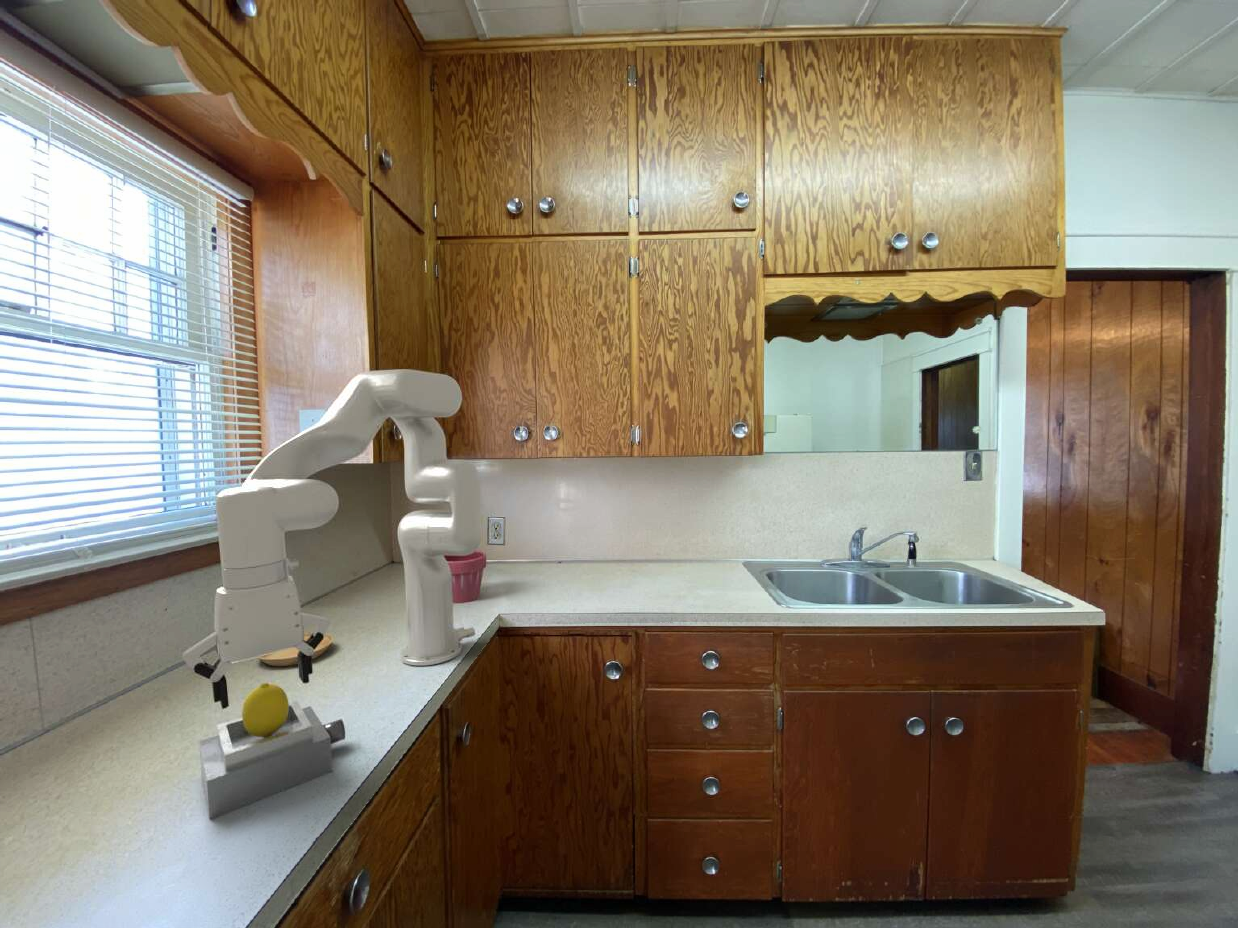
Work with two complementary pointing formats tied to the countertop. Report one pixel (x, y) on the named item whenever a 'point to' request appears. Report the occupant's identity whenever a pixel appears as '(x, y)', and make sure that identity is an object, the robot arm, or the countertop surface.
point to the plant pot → (466, 575)
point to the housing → (265, 759)
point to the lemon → (265, 710)
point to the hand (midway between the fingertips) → (265, 691)
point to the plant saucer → (295, 653)
